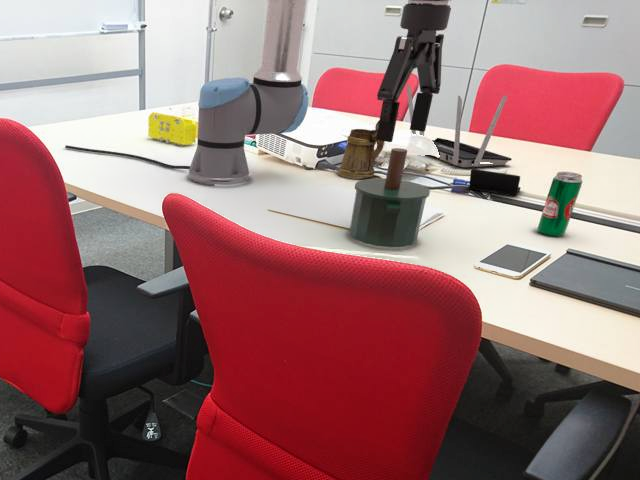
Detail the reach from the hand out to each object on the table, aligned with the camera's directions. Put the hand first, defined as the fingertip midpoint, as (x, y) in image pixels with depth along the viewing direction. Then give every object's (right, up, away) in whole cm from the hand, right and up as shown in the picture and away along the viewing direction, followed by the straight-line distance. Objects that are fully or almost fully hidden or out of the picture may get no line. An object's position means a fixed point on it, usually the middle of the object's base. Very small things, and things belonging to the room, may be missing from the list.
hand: (401, 135), depth 119 cm
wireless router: (+41, +17, +71) cm, 84 cm away
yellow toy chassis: (-41, +27, +85) cm, 98 cm away
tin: (0, -17, +10) cm, 20 cm away
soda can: (+36, -15, +14) cm, 41 cm away
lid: (0, -9, +5) cm, 10 cm away
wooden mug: (+9, +7, +52) cm, 53 cm away
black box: (+38, 0, +41) cm, 56 cm away
